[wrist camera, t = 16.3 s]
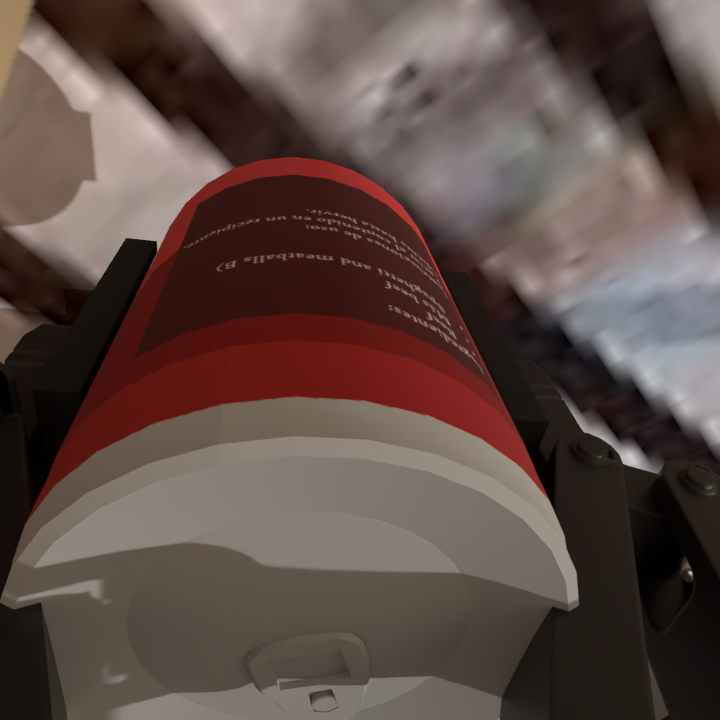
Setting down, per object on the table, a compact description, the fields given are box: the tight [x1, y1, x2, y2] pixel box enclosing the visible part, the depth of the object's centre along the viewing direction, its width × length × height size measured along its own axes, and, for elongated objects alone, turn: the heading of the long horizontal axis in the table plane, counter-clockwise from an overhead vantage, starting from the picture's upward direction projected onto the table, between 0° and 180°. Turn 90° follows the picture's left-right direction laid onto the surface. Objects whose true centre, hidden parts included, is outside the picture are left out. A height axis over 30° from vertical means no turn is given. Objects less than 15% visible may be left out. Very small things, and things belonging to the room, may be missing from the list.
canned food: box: [0, 157, 579, 720], centre depth 12 cm, size 8×8×11 cm
